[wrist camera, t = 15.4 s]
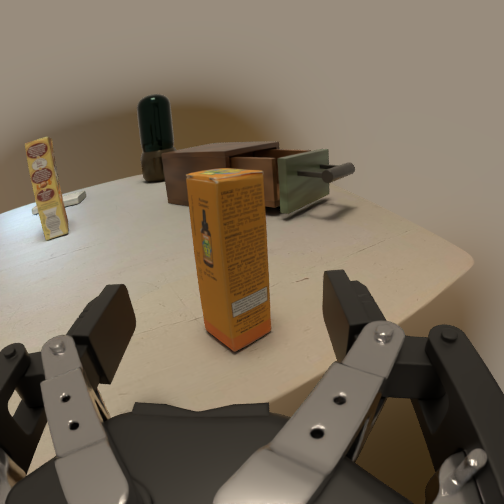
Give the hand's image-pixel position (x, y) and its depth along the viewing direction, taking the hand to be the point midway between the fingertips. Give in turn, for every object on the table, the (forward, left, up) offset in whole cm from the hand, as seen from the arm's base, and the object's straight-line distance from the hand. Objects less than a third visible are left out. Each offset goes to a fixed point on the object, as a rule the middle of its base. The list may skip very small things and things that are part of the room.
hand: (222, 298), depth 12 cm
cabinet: (-19, -37, -6) cm, 42 cm away
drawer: (-23, -25, -5) cm, 34 cm away
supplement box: (-3, -5, -6) cm, 8 cm away
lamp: (-18, -69, -6) cm, 71 cm away
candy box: (+9, -44, -6) cm, 45 cm away
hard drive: (+9, -69, -6) cm, 70 cm away
